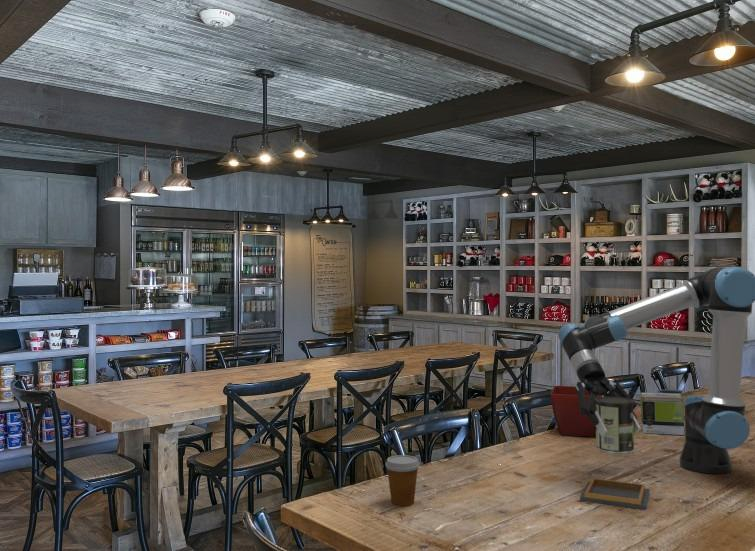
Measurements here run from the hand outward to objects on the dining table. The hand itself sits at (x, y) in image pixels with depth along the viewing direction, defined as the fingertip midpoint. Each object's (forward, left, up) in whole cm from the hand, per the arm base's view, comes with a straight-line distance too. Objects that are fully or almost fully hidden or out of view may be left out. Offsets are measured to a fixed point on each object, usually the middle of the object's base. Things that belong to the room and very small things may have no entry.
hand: (621, 432), depth 183 cm
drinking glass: (-8, -113, -19) cm, 115 cm away
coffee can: (+2, -2, -6) cm, 6 cm away
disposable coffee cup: (+55, +27, -19) cm, 64 cm away
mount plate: (+2, -2, -19) cm, 19 cm away
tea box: (-6, -88, -19) cm, 90 cm away
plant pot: (+24, -73, -19) cm, 79 cm away
